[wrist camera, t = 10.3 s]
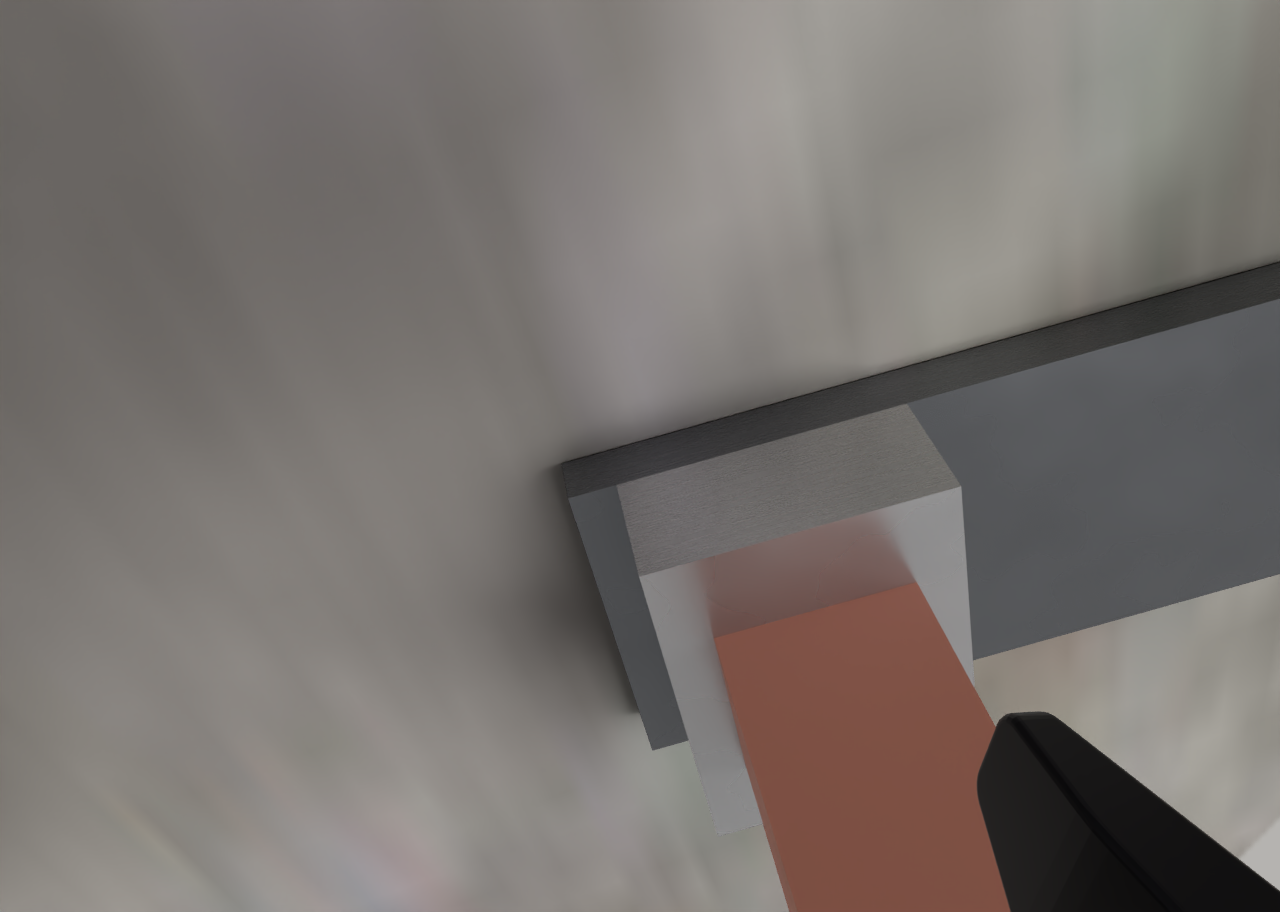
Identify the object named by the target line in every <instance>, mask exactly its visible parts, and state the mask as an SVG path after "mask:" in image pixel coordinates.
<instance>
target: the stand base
mask: <svg viewBox="0 0 1280 912" xmlns="http://www.w3.org/2000/svg"><path fill="white" fill-rule="evenodd" d="M562 469H563V474H564V480H565V485H566V490H567V496H568V500H569V503H570V506H571V509H572V512H573V515H574V518H575V521H576V524H577V527H578V530H579V533H580V536H581V539H582V542H583V545H584V548H585V551H586V554H587V557H588V560H589V563H590V566H591V569H592V572H593V575H594V578H595V581H596V584H597V587H598V590H599V592H600V595H601V598H602V601H603V604H604V607H605V610H606V613H607V616H608V619H609V622H610V625H611V628H612V631H613V634H614V637H615V640H616V643H617V646H618V649H619V652H620V655H621V658H622V661H623V664H624V667H625V670H626V673H627V676H628V679H629V682H630V685H631V688H632V691H633V694H634V697H635V700H636V703H637V706H638V709H639V712H640V715H641V718H642V721H643V724H644V727H645V730H646V733H647V736H648V739H649V742H650V745H651V748H652V750H656V749H660V748H663V747H667V746H670V745H674V744H677V743H681V742H684V741H688V740H689V743H690V746H691V750H692V753H693V756H694V760H695V763H696V766H697V769H698V773H699V776H700V779H701V783H702V786H703V789H704V793H705V796H706V799H707V803H708V806H709V809H710V812H711V816H712V819H713V822H714V826H715V829H716V832H717V836H722V835H726V834H729V833H733V832H736V831H740V830H743V829H747V828H750V827H754V826H757V825H761V824H763V822H762V819H761V815H760V812H759V809H758V805H757V802H756V799H755V795H754V792H753V789H752V785H751V782H750V779H749V775H748V772H747V769H746V765H745V761H744V757H743V753H742V749H741V745H740V741H739V737H738V733H737V729H736V725H735V721H734V717H733V713H732V709H731V705H730V701H729V697H728V693H727V689H726V685H725V681H724V677H723V673H722V669H721V665H720V662H719V658H718V654H717V650H716V646H715V642H714V638H716V637H720V636H724V635H727V634H731V633H734V632H738V631H742V630H745V629H749V628H753V627H756V626H760V625H763V624H767V623H771V622H774V621H778V620H781V619H785V618H789V617H792V616H796V615H799V614H803V613H807V612H810V611H814V610H818V609H821V608H825V607H828V606H832V605H836V604H839V603H843V602H846V601H850V600H854V599H857V598H861V597H865V596H868V595H872V594H875V593H879V592H883V591H886V590H890V589H893V588H897V587H901V586H904V585H908V584H912V583H915V582H917V583H918V585H919V587H920V589H921V591H922V593H923V594H924V596H925V598H926V600H927V602H928V604H929V606H930V607H931V609H932V611H933V613H934V615H935V617H936V618H937V620H938V622H939V624H940V626H941V628H942V629H943V631H944V633H945V635H946V637H947V639H948V640H949V642H950V644H951V646H952V648H953V650H954V651H955V653H956V655H957V657H958V659H959V661H960V663H961V664H962V666H963V668H964V670H965V672H966V674H967V675H968V677H969V679H970V681H971V683H972V685H973V686H974V688H975V684H974V669H973V660H976V659H979V658H983V657H986V656H990V655H994V654H997V653H1001V652H1004V651H1008V650H1011V649H1015V648H1018V647H1022V646H1026V645H1029V644H1033V643H1036V642H1040V641H1043V640H1047V639H1050V638H1054V637H1057V636H1061V635H1065V634H1068V633H1072V632H1075V631H1079V630H1082V629H1086V628H1089V627H1093V626H1097V625H1100V624H1104V623H1107V622H1111V621H1114V620H1118V619H1121V618H1125V617H1129V616H1132V615H1136V614H1139V613H1143V612H1146V611H1150V610H1153V609H1157V608H1161V607H1164V606H1168V605H1171V604H1175V603H1178V602H1182V601H1185V600H1189V599H1193V598H1196V597H1200V596H1203V595H1207V594H1210V593H1214V592H1217V591H1221V590H1224V589H1228V588H1232V587H1235V586H1239V585H1242V584H1246V583H1249V582H1253V581H1256V580H1260V579H1264V578H1267V577H1271V576H1274V575H1278V574H1280V263H1276V264H1272V265H1269V266H1265V267H1262V268H1258V269H1255V270H1251V271H1248V272H1244V273H1240V274H1237V275H1233V276H1230V277H1226V278H1223V279H1219V280H1215V281H1212V282H1208V283H1205V284H1201V285H1198V286H1194V287H1191V288H1187V289H1183V290H1180V291H1176V292H1173V293H1169V294H1166V295H1162V296H1158V297H1155V298H1151V299H1148V300H1144V301H1141V302H1137V303H1134V304H1130V305H1126V306H1123V307H1119V308H1116V309H1112V310H1109V311H1105V312H1101V313H1098V314H1094V315H1091V316H1087V317H1084V318H1080V319H1076V320H1073V321H1069V322H1066V323H1062V324H1059V325H1055V326H1052V327H1048V328H1044V329H1041V330H1037V331H1034V332H1030V333H1027V334H1023V335H1019V336H1016V337H1012V338H1009V339H1005V340H1002V341H998V342H995V343H991V344H987V345H984V346H980V347H977V348H973V349H970V350H966V351H962V352H959V353H955V354H952V355H948V356H945V357H941V358H937V359H934V360H930V361H927V362H923V363H920V364H916V365H913V366H909V367H905V368H902V369H898V370H895V371H891V372H888V373H884V374H880V375H877V376H873V377H870V378H866V379H863V380H859V381H855V382H852V383H848V384H845V385H841V386H838V387H834V388H831V389H827V390H823V391H820V392H816V393H813V394H809V395H806V396H802V397H798V398H795V399H791V400H788V401H784V402H781V403H777V404H774V405H770V406H766V407H763V408H759V409H756V410H752V411H749V412H745V413H741V414H738V415H734V416H731V417H727V418H724V419H720V420H716V421H713V422H709V423H706V424H702V425H699V426H695V427H692V428H688V429H684V430H681V431H677V432H674V433H670V434H667V435H663V436H659V437H656V438H652V439H649V440H645V441H642V442H638V443H635V444H631V445H627V446H624V447H620V448H617V449H613V450H610V451H606V452H602V453H599V454H595V455H592V456H588V457H585V458H581V459H577V460H574V461H570V462H567V463H563V464H562Z"/></svg>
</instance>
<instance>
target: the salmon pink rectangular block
mask: <svg viewBox="0 0 1280 912" xmlns="http://www.w3.org/2000/svg"><path fill="white" fill-rule="evenodd" d="M714 642H715V646H716V650H717V654H718V658H719V662H720V665H721V669H722V673H723V677H724V681H725V685H726V689H727V693H728V697H729V701H730V705H731V709H732V713H733V717H734V721H735V725H736V729H737V733H738V737H739V741H740V745H741V749H742V753H743V757H744V761H745V765H746V769H747V772H748V775H749V779H750V782H751V785H752V789H753V792H754V795H755V799H756V802H757V805H758V809H759V812H760V815H761V819H762V822H763V825H764V829H765V832H766V835H767V839H768V842H769V845H770V849H771V852H772V855H773V859H774V862H775V865H776V868H777V872H778V875H779V878H780V882H781V885H782V888H783V892H784V895H785V898H786V902H787V905H788V908H789V912H1010V909H1009V905H1008V902H1007V898H1006V895H1005V891H1004V888H1003V884H1002V881H1001V877H1000V874H999V870H998V867H997V864H996V860H995V857H994V853H993V850H992V846H991V843H990V839H989V836H988V832H987V829H986V826H985V822H984V819H983V815H982V812H981V808H980V805H979V801H978V796H977V776H978V772H979V769H980V766H981V764H982V761H983V759H984V756H985V754H986V751H987V749H988V746H989V743H990V741H991V738H992V736H993V733H994V731H995V728H996V727H995V725H994V723H993V721H992V720H991V718H990V716H989V714H988V712H987V710H986V709H985V707H984V705H983V703H982V701H981V699H980V697H979V696H978V694H977V692H976V690H975V688H974V686H973V685H972V683H971V681H970V679H969V677H968V675H967V674H966V672H965V670H964V668H963V666H962V664H961V663H960V661H959V659H958V657H957V655H956V653H955V651H954V650H953V648H952V646H951V644H950V642H949V640H948V639H947V637H946V635H945V633H944V631H943V629H942V628H941V626H940V624H939V622H938V620H937V618H936V617H935V615H934V613H933V611H932V609H931V607H930V606H929V604H928V602H927V600H926V598H925V596H924V594H923V593H922V591H921V589H920V587H919V585H918V583H917V582H915V583H912V584H908V585H904V586H901V587H897V588H893V589H890V590H886V591H883V592H879V593H875V594H872V595H868V596H865V597H861V598H857V599H854V600H850V601H846V602H843V603H839V604H836V605H832V606H828V607H825V608H821V609H818V610H814V611H810V612H807V613H803V614H799V615H796V616H792V617H789V618H785V619H781V620H778V621H774V622H771V623H767V624H763V625H760V626H756V627H753V628H749V629H745V630H742V631H738V632H734V633H731V634H727V635H724V636H720V637H716V638H714Z"/></svg>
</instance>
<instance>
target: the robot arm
mask: <svg viewBox="0 0 1280 912" xmlns="http://www.w3.org/2000/svg"><path fill="white" fill-rule="evenodd" d="M977 796H978V801H979V805H980V808H981V812H982V815H983V819H984V822H985V826H986V829H987V832H988V836H989V839H990V843H991V846H992V850H993V853H994V857H995V860H996V864H997V867H998V870H999V874H1000V877H1001V881H1002V884H1003V888H1004V891H1005V895H1006V898H1007V902H1008V905H1009V909H1010V912H1280V891H1279V890H1278V889H1277V888H1275V887H1274V886H1273V885H1271V884H1270V883H1269V882H1268V881H1266V880H1265V879H1264V878H1262V877H1261V876H1260V875H1259V874H1257V873H1256V872H1255V871H1253V870H1252V869H1251V868H1250V867H1248V866H1247V865H1246V864H1244V863H1243V862H1242V861H1241V860H1239V859H1238V858H1237V857H1235V856H1234V855H1233V854H1232V853H1230V852H1229V851H1228V850H1226V849H1225V848H1224V847H1223V846H1221V845H1220V844H1219V843H1217V842H1216V841H1215V840H1214V839H1212V838H1211V837H1210V836H1208V835H1207V834H1206V833H1205V832H1203V831H1202V830H1201V829H1199V828H1198V827H1197V826H1196V825H1194V824H1193V823H1192V822H1190V821H1189V820H1188V819H1187V818H1185V817H1184V816H1183V815H1181V814H1180V813H1179V812H1178V811H1176V810H1175V809H1174V808H1172V807H1171V806H1170V805H1169V804H1167V803H1166V802H1165V801H1163V800H1162V799H1161V798H1160V797H1158V796H1157V795H1156V794H1154V793H1153V792H1152V791H1151V790H1149V789H1148V788H1147V787H1145V786H1144V785H1143V784H1142V783H1140V782H1139V781H1138V780H1136V779H1135V778H1134V777H1133V776H1131V775H1130V774H1129V773H1127V772H1126V771H1125V770H1124V769H1122V768H1121V767H1120V766H1118V765H1117V764H1116V763H1115V762H1113V761H1112V760H1111V759H1109V758H1108V757H1107V756H1106V755H1104V754H1103V753H1102V752H1100V751H1099V750H1098V749H1097V748H1095V747H1094V746H1093V745H1091V744H1090V743H1089V742H1088V741H1086V740H1085V739H1084V738H1082V737H1081V736H1080V735H1079V734H1077V733H1076V732H1075V731H1073V730H1072V729H1071V728H1070V727H1068V726H1067V725H1066V724H1064V723H1063V722H1062V721H1061V720H1059V719H1058V718H1056V717H1055V716H1053V715H1051V714H1049V713H1046V712H1022V713H1010V714H1006V715H1005V716H1003V717H1002V718H1001V719H1000V720H999V722H998V724H997V726H996V728H995V731H994V733H993V736H992V738H991V741H990V743H989V746H988V749H987V751H986V754H985V756H984V759H983V761H982V764H981V766H980V769H979V772H978V776H977Z"/></svg>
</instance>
